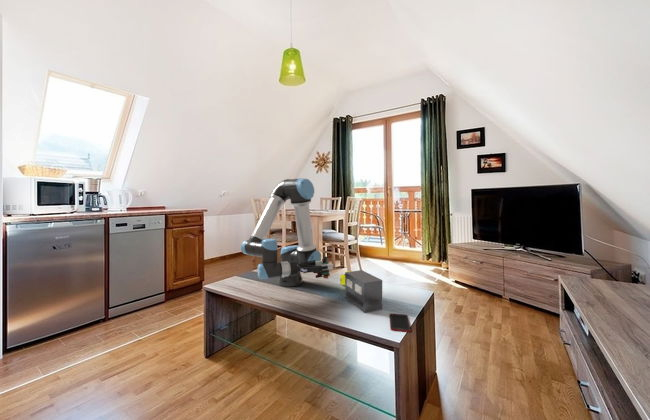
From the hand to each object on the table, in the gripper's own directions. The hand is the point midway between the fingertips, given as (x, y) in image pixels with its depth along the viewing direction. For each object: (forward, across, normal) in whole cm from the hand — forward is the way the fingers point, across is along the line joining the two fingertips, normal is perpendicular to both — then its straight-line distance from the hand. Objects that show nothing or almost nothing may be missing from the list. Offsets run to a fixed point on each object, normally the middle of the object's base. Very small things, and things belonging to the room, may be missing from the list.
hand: (329, 264), depth 142 cm
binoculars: (-5, -1, -7) cm, 8 cm away
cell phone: (+14, +42, -17) cm, 47 cm away
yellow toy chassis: (+18, -6, -17) cm, 25 cm away
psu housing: (+10, +18, -17) cm, 27 cm away
